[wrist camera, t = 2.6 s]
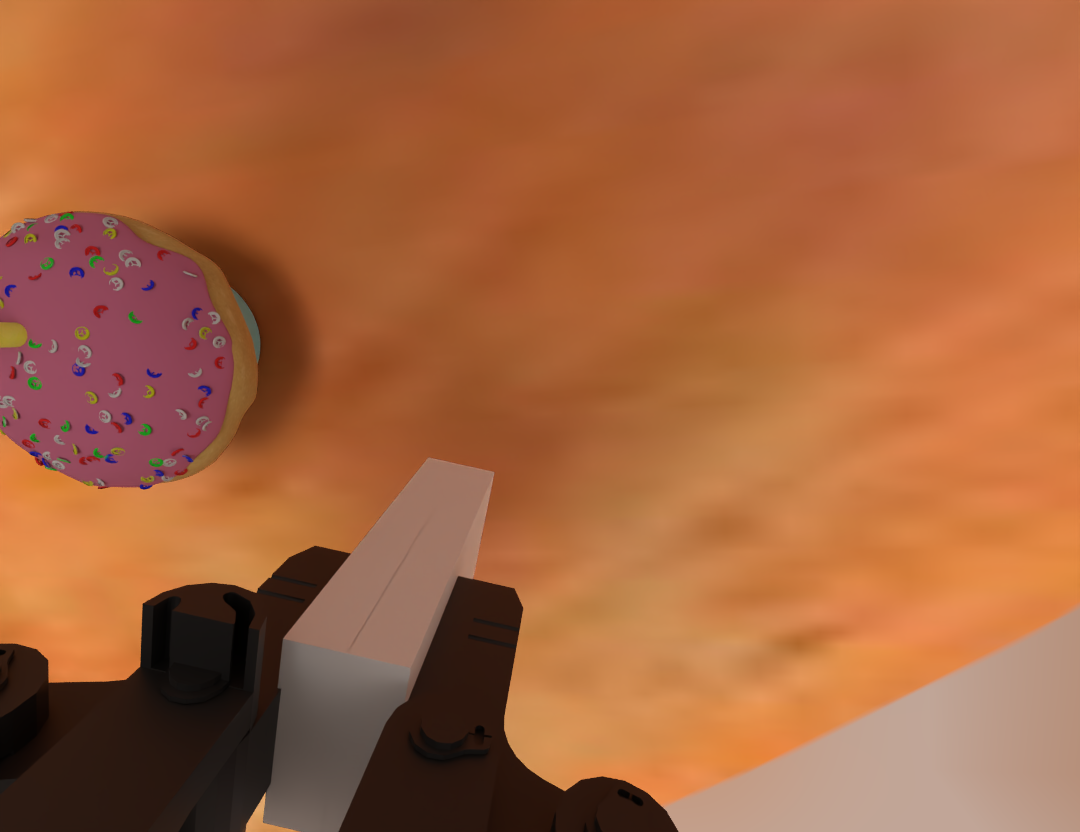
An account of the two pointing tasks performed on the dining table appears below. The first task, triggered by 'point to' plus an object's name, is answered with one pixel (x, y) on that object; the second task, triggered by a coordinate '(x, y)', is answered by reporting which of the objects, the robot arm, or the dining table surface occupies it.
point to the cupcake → (120, 350)
